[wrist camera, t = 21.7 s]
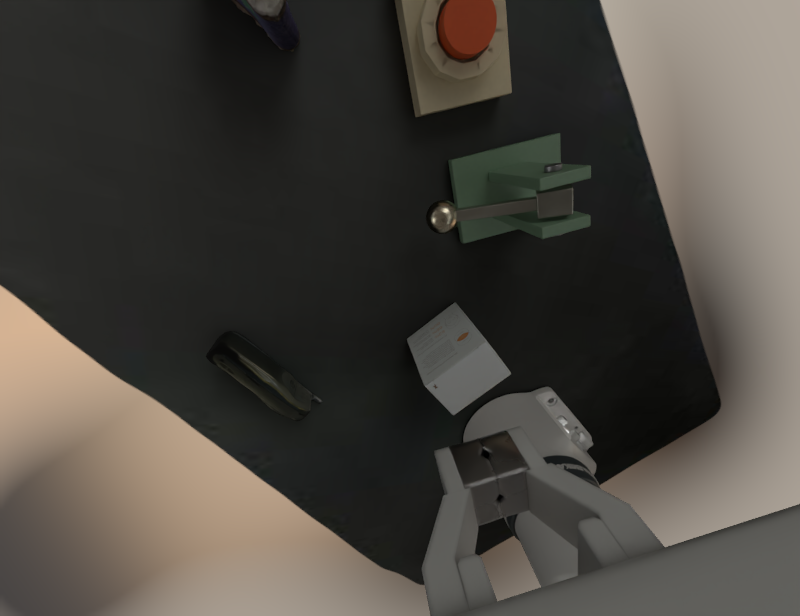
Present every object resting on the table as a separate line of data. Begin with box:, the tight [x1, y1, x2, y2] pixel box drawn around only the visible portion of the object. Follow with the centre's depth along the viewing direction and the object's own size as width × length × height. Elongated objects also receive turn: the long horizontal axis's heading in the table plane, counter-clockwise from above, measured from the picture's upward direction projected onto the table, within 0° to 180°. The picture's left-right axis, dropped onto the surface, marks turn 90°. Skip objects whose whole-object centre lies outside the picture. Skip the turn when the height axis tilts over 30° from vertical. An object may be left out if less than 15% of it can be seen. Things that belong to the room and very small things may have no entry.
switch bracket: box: [448, 133, 591, 243], centre depth 34 cm, size 12×9×12 cm
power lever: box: [426, 184, 573, 234], centre depth 33 cm, size 13×3×3 cm, turn 102°
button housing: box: [395, 0, 512, 117], centre depth 31 cm, size 11×9×4 cm
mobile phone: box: [206, 332, 322, 421], centre depth 42 cm, size 5×3×15 cm
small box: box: [407, 303, 511, 415], centre depth 41 cm, size 8×6×10 cm
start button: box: [438, 0, 497, 59], centre depth 29 cm, size 4×4×2 cm
